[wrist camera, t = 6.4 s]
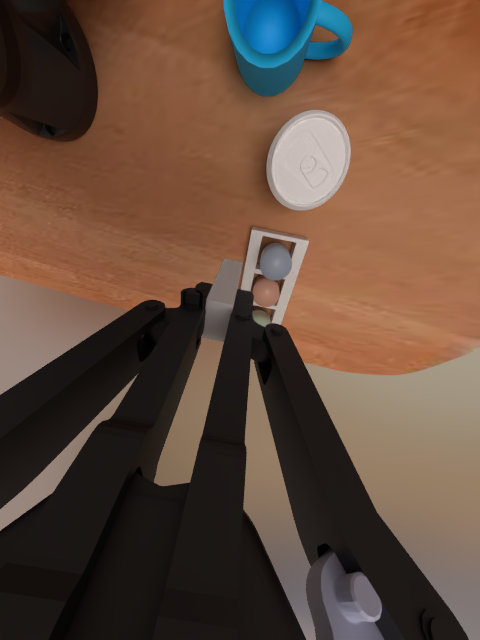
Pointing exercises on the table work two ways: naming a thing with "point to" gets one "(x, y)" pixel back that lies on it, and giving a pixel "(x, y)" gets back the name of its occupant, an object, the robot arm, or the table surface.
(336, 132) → the beverage can
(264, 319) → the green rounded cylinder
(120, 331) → the robot arm
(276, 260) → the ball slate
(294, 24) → the mug
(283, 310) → the three-ball tray
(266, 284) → the button terracotta
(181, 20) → the table surface
